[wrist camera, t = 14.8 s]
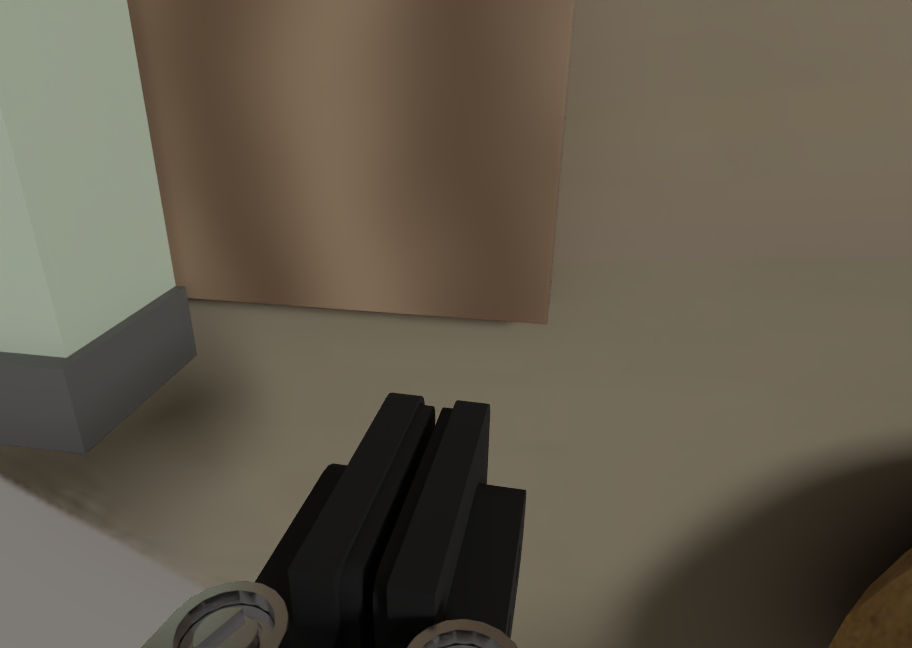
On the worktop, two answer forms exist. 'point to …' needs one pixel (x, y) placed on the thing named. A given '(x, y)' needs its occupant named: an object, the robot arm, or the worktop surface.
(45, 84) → the leg
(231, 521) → the worktop surface
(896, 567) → the potato
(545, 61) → the stool seat
